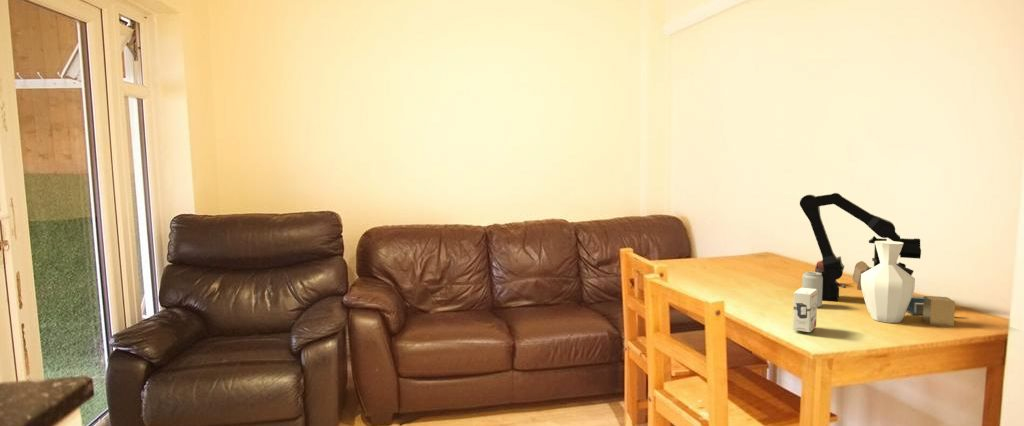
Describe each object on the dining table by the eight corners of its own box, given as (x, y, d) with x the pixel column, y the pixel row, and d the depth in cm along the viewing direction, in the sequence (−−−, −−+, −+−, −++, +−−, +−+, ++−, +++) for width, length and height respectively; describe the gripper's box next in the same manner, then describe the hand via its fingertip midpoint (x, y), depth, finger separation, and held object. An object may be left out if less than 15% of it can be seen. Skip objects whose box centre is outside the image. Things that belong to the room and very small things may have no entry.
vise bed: (912, 315, 181) (912, 313, 181) (896, 304, 196) (896, 302, 196) (952, 318, 177) (952, 316, 177) (932, 306, 192) (932, 304, 192)
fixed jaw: (916, 313, 180) (916, 304, 180) (913, 312, 182) (914, 302, 182) (952, 316, 177) (953, 306, 177) (950, 314, 179) (950, 304, 179)
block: (930, 325, 169) (931, 300, 169) (922, 320, 175) (923, 295, 174) (953, 327, 167) (954, 301, 167) (945, 321, 173) (946, 297, 172)
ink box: (799, 323, 173) (800, 286, 172) (816, 326, 170) (818, 288, 169) (792, 329, 166) (793, 291, 165) (810, 332, 163) (811, 293, 162)
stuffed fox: (846, 291, 216) (847, 261, 215) (814, 288, 222) (815, 259, 221) (846, 288, 223) (847, 258, 222) (814, 285, 228) (815, 256, 228)
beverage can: (819, 304, 196) (820, 271, 195) (823, 309, 190) (824, 274, 189) (799, 303, 198) (800, 270, 197) (803, 307, 192) (804, 274, 191)
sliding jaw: (882, 305, 190) (882, 296, 190) (879, 304, 193) (880, 294, 192) (942, 309, 185) (943, 299, 184) (939, 307, 187) (940, 298, 187)
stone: (856, 292, 215) (867, 295, 214) (862, 269, 213) (873, 271, 212) (850, 280, 232) (861, 282, 230) (856, 259, 230) (866, 261, 228)
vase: (914, 328, 167) (918, 246, 165) (859, 321, 174) (862, 243, 172) (910, 317, 179) (914, 241, 177) (859, 311, 186) (862, 238, 184)
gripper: (921, 261, 181) (919, 308, 182) (901, 253, 199) (899, 295, 200) (882, 260, 185) (880, 305, 186) (866, 252, 202) (864, 293, 203)
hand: (882, 300), depth 194 cm, fingers closed
